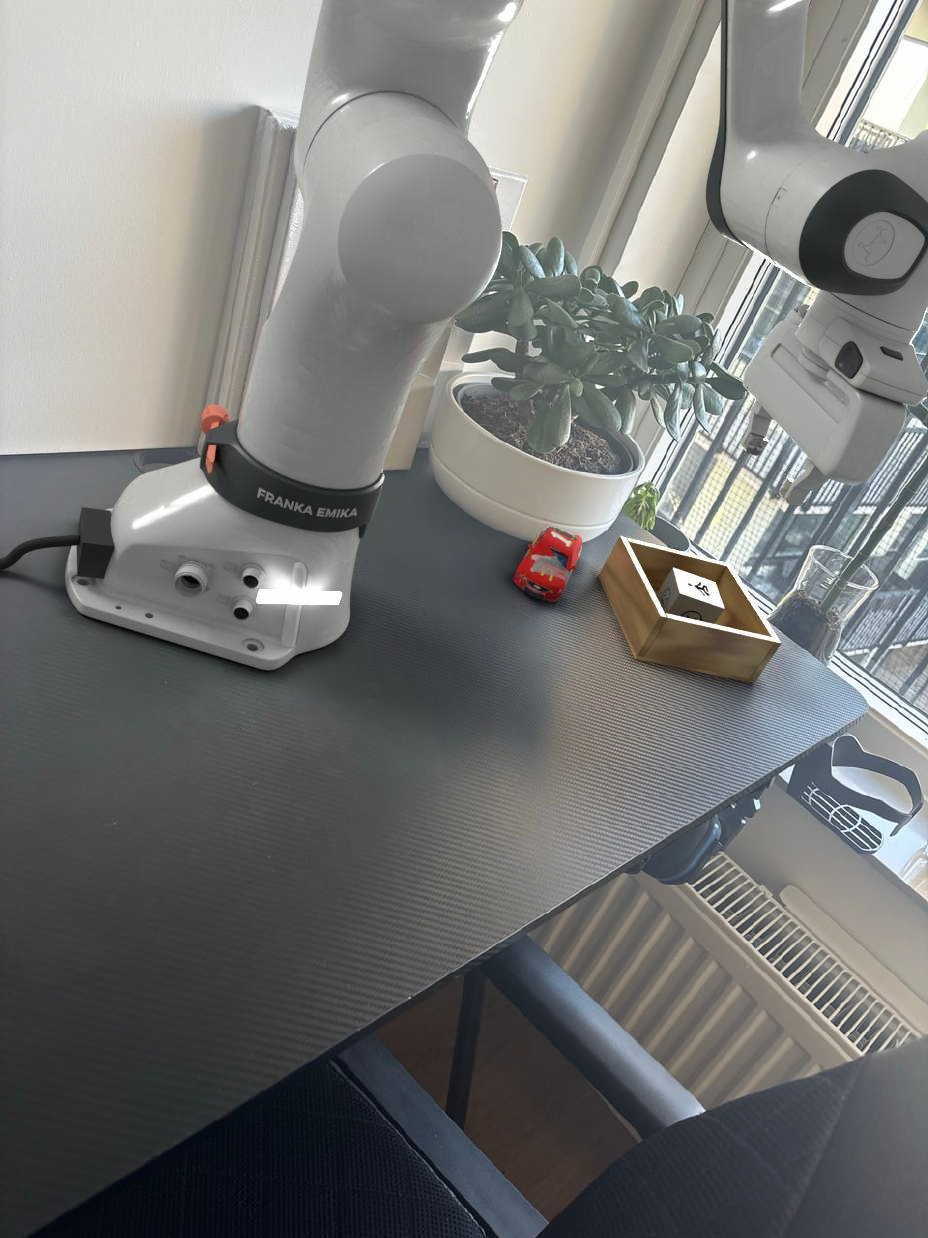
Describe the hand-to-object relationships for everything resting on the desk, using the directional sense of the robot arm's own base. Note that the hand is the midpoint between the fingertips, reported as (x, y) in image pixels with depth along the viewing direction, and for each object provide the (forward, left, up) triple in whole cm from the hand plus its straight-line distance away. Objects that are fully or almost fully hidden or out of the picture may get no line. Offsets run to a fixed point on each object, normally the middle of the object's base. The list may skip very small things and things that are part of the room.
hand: (768, 475), depth 89 cm
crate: (0, 0, -19) cm, 19 cm away
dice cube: (0, 0, -19) cm, 19 cm away
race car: (-14, +5, -19) cm, 24 cm away
